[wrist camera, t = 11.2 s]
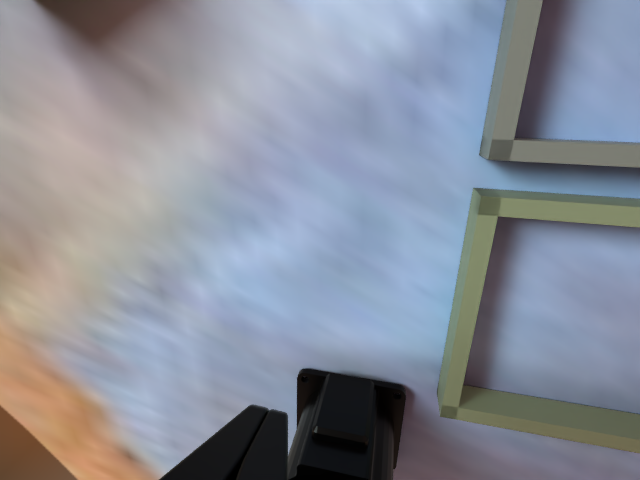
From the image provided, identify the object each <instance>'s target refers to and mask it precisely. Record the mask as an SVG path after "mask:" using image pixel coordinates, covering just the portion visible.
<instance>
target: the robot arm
mask: <svg viewBox="0 0 640 480" xmlns="http://www.w3.org/2000/svg"><path fill="white" fill-rule="evenodd" d="M303 376H306V377H308V378H309V379H306V378H304V377H303ZM394 393H400V394H398V395H397V394H394ZM405 400H406V391H405V388H404V387H403V386H401V385H399V384H393V383H388V382H382V381H376V380H370V379H364V378H358V377H353V376H347V375H341V374H335V373H329V372H323V371H318V370H312V369H302V370H300V372H299V374H298V377H297V430H296V433H295V436H294V439H293V442H292V445H291V448H290V451H289V455H288V415H287V413H285V412H282V411H278V410H274V409H271V410H269V409H268V408H266V407H262V406H258V405H250V406H248V407H247V408H246V409H245V410H243V411H242V412H241V413H240V414H238V415H237V416H236V417H235V418H234V419H232V420H231V421H230V422H229V423H228V424H226V425H225V426H224V427H223V428H221V429H220V430H219V431H218V432H217V433H215V434H214V435H213V436H212V437H210V438H209V439H208V440H207V441H206V442H204V443H203V444H202V445H201V446H199V447H198V448H197V449H196V450H195V451H193V452H192V453H191V454H190V455H189V456H187V457H186V458H185V459H184V460H182V461H181V462H180V463H179V464H178V465H176V466H175V467H174V468H173V469H171V470H170V471H169V472H168V473H167V474H165V475H164V476H163V477H162V478H160V479H159V480H393V469H395V468H396V464H397V457H398V450H399V442H400V435H401V428H402V421H403V414H404V407H405Z"/></svg>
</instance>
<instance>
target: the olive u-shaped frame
mask: <svg viewBox="0 0 640 480" xmlns="http://www.w3.org/2000/svg"><path fill="white" fill-rule="evenodd" d="M542 2H543V0H507V1H506V7H505V12H504V18H503V23H502V29H501V35H500V40H499V46H498V52H497V57H496V63H495V68H494V74H493V80H492V85H491V91H490V97H489V102H488V108H487V113H486V119H485V125H484V130H483V136H482V142H481V147H480V153H479V155H480V156H482V157H484V158H486V159H488V160H502V161H521V162H541V163H560V164H579V165H599V166H618V167H638V168H640V143H633V142H608V141H583V140H558V139H533V138H514V137H515V132H516V127H517V122H518V118H519V113H520V108H521V103H522V98H523V93H524V89H525V84H526V79H527V74H528V69H529V65H530V60H531V55H532V50H533V45H534V41H535V36H536V31H537V26H538V21H539V16H540V12H541V7H542Z"/></svg>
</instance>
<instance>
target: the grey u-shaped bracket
mask: <svg viewBox="0 0 640 480" xmlns="http://www.w3.org/2000/svg"><path fill="white" fill-rule="evenodd" d="M498 216H501V217H513V218H526V219H539V220H551V221H564V222H576V223H589V224H602V225H614V226H627V227H640V199H634V198H619V197H604V196H589V195H574V194H559V193H543V192H528V191H513V190H498V189H483V188H473V192H472V198H471V203H470V209H469V215H468V220H467V226H466V232H465V237H464V243H463V248H462V254H461V260H460V265H459V271H458V276H457V282H456V288H455V293H454V299H453V305H452V310H451V316H450V321H449V327H448V333H447V338H446V344H445V350H444V355H443V361H442V366H441V372H440V378H439V383H438V389H437V396H438V404H439V412H440V417H446V418H451V419H456V420H462V421H467V422H473V423H478V424H484V425H489V426H494V427H500V428H505V429H511V430H516V431H521V432H527V433H532V434H538V435H543V436H549V437H554V438H559V439H565V440H570V441H576V442H581V443H587V444H592V445H597V446H603V447H608V448H614V449H619V450H624V451H630V452H635V453H640V414H634V413H628V412H622V411H616V410H610V409H604V408H598V407H592V406H586V405H580V404H574V403H568V402H562V401H556V400H550V399H544V398H538V397H532V396H526V395H520V394H514V393H508V392H502V391H496V390H490V389H484V388H478V387H472V386H466V385H463V382H464V377H465V373H466V368H467V363H468V358H469V353H470V348H471V344H472V339H473V334H474V329H475V324H476V320H477V315H478V310H479V305H480V300H481V296H482V291H483V286H484V281H485V276H486V271H487V267H488V262H489V257H490V252H491V247H492V243H493V238H494V233H495V228H496V223H497V219H498Z"/></svg>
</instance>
